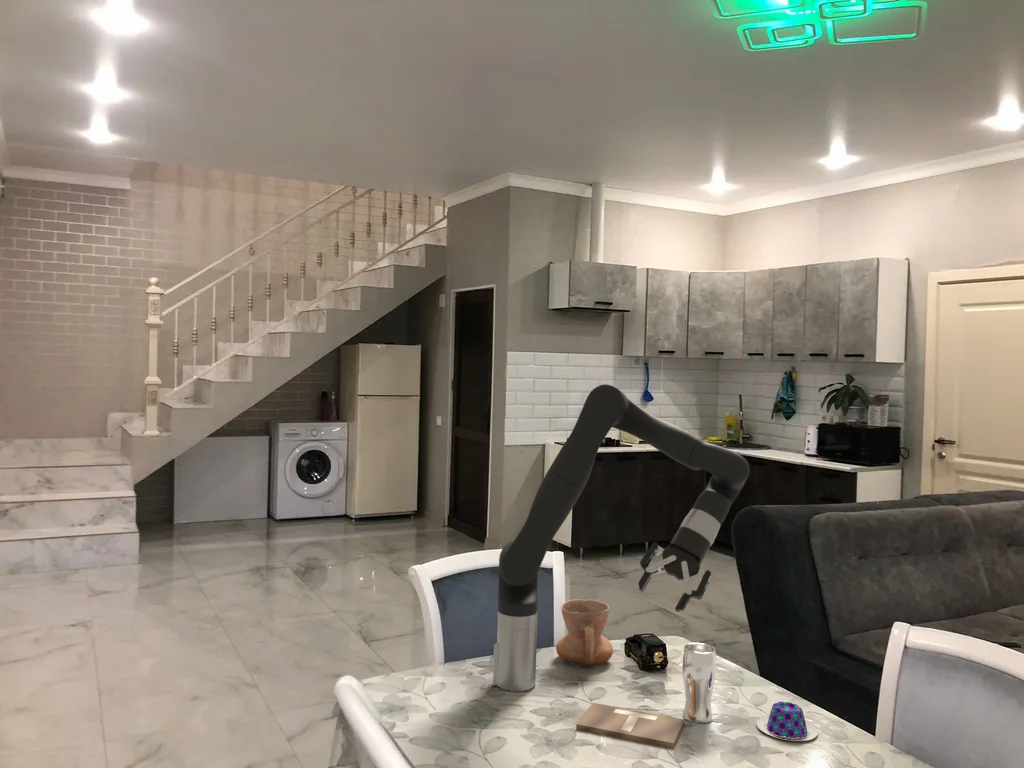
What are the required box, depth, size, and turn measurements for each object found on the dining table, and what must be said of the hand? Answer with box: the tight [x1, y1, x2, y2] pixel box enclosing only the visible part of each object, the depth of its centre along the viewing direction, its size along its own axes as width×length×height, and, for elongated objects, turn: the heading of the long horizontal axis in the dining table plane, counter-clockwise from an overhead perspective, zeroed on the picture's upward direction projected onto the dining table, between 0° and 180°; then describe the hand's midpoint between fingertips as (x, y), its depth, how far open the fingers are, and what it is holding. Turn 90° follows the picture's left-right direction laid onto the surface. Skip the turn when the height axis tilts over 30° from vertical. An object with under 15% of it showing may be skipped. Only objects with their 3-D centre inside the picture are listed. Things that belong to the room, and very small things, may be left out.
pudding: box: [756, 701, 818, 742], centre depth 166 cm, size 12×12×5 cm
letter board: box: [575, 702, 686, 749], centre depth 166 cm, size 20×12×1 cm, turn 68°
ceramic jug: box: [555, 598, 614, 667], centre depth 203 cm, size 18×14×14 cm
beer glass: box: [682, 642, 717, 725], centre depth 171 cm, size 7×7×15 cm
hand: (658, 600), depth 166 cm, fingers open, 8 cm apart
